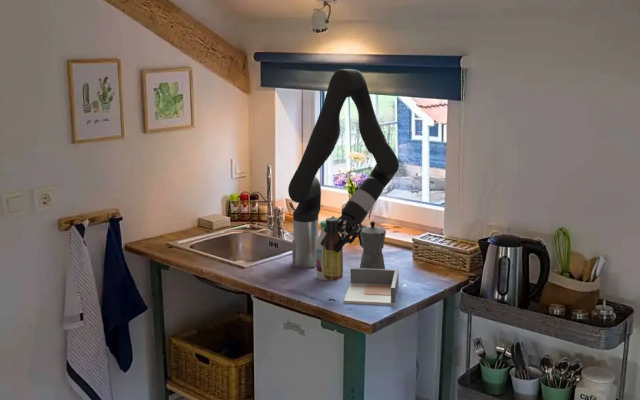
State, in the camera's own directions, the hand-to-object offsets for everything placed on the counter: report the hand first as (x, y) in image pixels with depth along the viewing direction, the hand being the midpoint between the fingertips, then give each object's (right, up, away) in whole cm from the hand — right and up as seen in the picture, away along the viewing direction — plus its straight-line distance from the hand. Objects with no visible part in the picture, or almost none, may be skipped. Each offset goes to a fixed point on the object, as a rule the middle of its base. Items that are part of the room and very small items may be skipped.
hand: (329, 248), depth 232 cm
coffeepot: (+15, -10, +31) cm, 36 cm away
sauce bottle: (+1, -10, +3) cm, 11 cm away
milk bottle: (0, -12, +24) cm, 26 cm away
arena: (+14, -15, +6) cm, 22 cm away
